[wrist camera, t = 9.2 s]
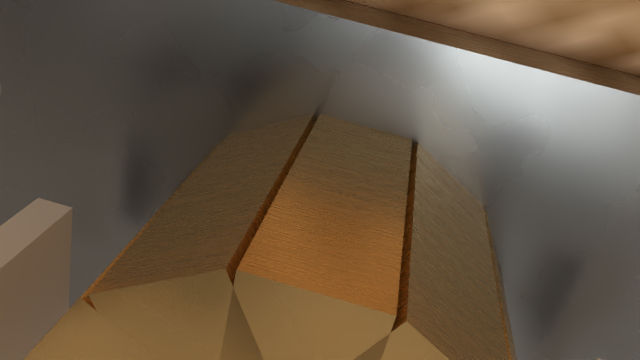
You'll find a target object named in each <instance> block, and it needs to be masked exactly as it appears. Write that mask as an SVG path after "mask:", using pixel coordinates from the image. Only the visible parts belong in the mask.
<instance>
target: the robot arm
mask: <svg viewBox="0 0 640 360" xmlns="http://www.w3.org/2000/svg"><path fill="white" fill-rule="evenodd" d="M72 209H73V208H72V207H69V206H65V205H62V204H58V203H55V202H51V201H48V200H44V199H41V198H37V199H36V200H35V201H33V202H32V203H31V204H29V205H28V206H27V207H25V208H24V209H23V210H21V211H20V212H18V213H17V214H16V215H14V216H13V217H12V218H10V219H9V220H8V221H6V222H5V223H4V224H2V225H1V226H0V360H23V359H24V358H25V357H26V356H27V355H28V354H29V353H30V352H31V350H32V349H33V348H34V347H35V346H36V345H37V344H38V343H39V341H40V340H41V339H42V338H43V337H44V336H45V335H46V334H47V333H48V331H49V330H50V329H51V328H52V327H53V326H54V325H55V324H56V323H57V321H58V320H59V319H60V318H61V317H62V316H63V315H64V314H65V313H66V311H67V310H68V309H69V289H70V262H71V235H72ZM596 360H603V359H599V358H597V359H596Z"/></svg>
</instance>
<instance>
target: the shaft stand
mask: <svg viewBox="0 0 640 360" xmlns="http://www.w3.org/2000/svg"><path fill="white" fill-rule="evenodd" d="M312 114H314V117H315V120H316V121H317V119H318V117H319V115H320V114H321V115H325V116H329V117H332V118H336V119H340V120H343V121H347V122H351V123H354V124H358V125H362V126H366V127H369V128H373V129H377V130H380V131H384V132H388V133H392V134H395V135H399V136H403V137H406V138H410V139H412V147H413V146H414V145H415V144H417V143H419V144H420V145H421V146H422V147H423V148H424V149H425V150H426V151H427V152H428V153H429V154H431V155H432V156H433V157H434V158H435V159H436V160H437V161H438V162H439V163H440V164H441V165H442V166H443V167H444V168H445V169H446V170H447V171H448V172H449V173H450V174H451V175H452V176H453V177H454V178H455V179H456V180H457V181H458V182H459V183H460V184H462V185H463V186H464V187H465V188H466V189H467V190H468V191H469V192H470V193H471V194H472V195H473V196H474V197H475V198H476V199H477V200H478V201H479V202H480V203H481V204H482V205H483V208H484V211H486V213H487V217H488V221H489V226H490V230H491V235H492V239H493V243H494V248H495V252H496V256H497V261H498V265H499V270H500V274H501V278H502V283H503V287H504V293H505V298H506V304H507V309H508V314H509V320H510V325H511V331H512V336H513V342H514V347H515V353H516V358H517V360H596V359H597V358H599V359H603V360H640V77H639V76H635V75H631V74H628V73H624V72H620V71H616V70H612V69H608V68H604V67H600V66H597V65H593V64H589V63H585V62H581V61H577V60H573V59H569V58H565V57H562V56H558V55H554V54H550V53H546V52H542V51H538V50H534V49H531V48H527V47H523V46H519V45H515V44H511V43H507V42H503V41H499V40H496V39H492V38H488V37H484V36H480V35H476V34H472V33H468V32H464V31H461V30H457V29H453V28H449V27H445V26H441V25H437V24H433V23H430V22H426V21H422V20H418V19H414V18H410V17H406V16H402V15H398V14H395V13H391V12H387V11H383V10H379V9H375V8H371V7H367V6H364V5H360V4H356V3H352V2H348V1H344V0H0V226H1V225H2V224H4V223H5V222H6V221H8V220H9V219H10V218H12V217H13V216H14V215H16V214H17V213H18V212H20V211H21V210H23V209H24V208H25V207H27V206H28V205H29V204H31V203H32V202H33V201H35V200H36V199H37V198H41V199H44V200H48V201H51V202H55V203H58V204H62V205H65V206H69V207H72V208H73V209H72V235H71V262H70V289H69V308H70V307H71V306H72V305H73V304H74V303H75V301H76V300H77V299H78V298H79V297H80V296H81V295H82V294H83V293H84V291H85V290H86V289H87V288H88V287H89V286H90V285H91V284H92V283H93V281H94V280H95V279H96V278H97V277H98V276H99V275H100V274H101V272H102V271H103V270H104V269H105V268H106V267H107V266H108V265H109V264H110V262H111V261H112V260H113V259H114V258H115V257H116V256H117V255H118V254H119V252H120V251H121V250H122V249H123V248H124V247H125V246H126V245H127V244H128V242H129V241H130V240H131V239H132V238H133V237H134V236H135V235H136V234H137V232H138V231H139V230H140V229H141V228H142V227H143V226H144V225H145V224H146V222H147V221H148V220H149V219H150V218H151V217H152V216H153V215H154V214H155V212H156V211H157V210H158V209H159V208H160V207H161V206H162V205H163V204H164V202H165V201H166V200H167V199H168V198H169V197H170V196H171V195H172V194H173V192H174V191H175V190H176V189H177V188H178V187H179V186H180V185H181V184H182V183H183V182H184V180H185V179H186V178H187V177H188V176H189V175H190V174H191V173H192V172H193V171H194V170H195V169H196V167H197V166H198V165H199V164H200V163H201V162H202V161H203V160H204V159H205V158H206V157H207V156H208V154H209V153H210V152H211V151H212V150H213V149H214V148H215V147H216V146H217V145H218V144H219V143H220V141H221V140H222V139H223V138H224V139H226V138H227V136H228V135H232V134H236V133H240V132H244V131H248V130H252V129H256V128H260V127H264V126H268V125H272V124H276V123H280V122H284V121H288V120H292V119H296V118H300V117H304V116H308V115H312ZM412 147H411V148H412Z"/></svg>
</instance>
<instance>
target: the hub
mask: <svg viewBox="0 0 640 360" xmlns="http://www.w3.org/2000/svg"><path fill="white" fill-rule="evenodd" d="M411 147H412V139H410V138H406V137H403V136H399V135H395V134H392V133H388V132H384V131H380V130H377V129H373V128H369V127H366V126H362V125H358V124H354V123H351V122H347V121H343V120H340V119H336V118H332V117H329V116H325V115H321V114H320V115H319V117H318V119H317V121H316V120H315V117H314V114H312V115H308V116H304V117H300V118H296V119H292V120H288V121H284V122H280V123H276V124H272V125H268V126H264V127H260V128H256V129H252V130H248V131H244V132H240V133H236V134H232V135H228V136H227V138H226V139H224V138H223V139H222V140H221V141H220V143H219V144H218V145H217V146H216V147H215V148H214V149H213V150H212V151H211V152H210V153H209V154H208V156H207V157H206V158H205V159H204V160H203V161H202V162H201V163H200V164H199V165H198V166H197V167H196V169H195V170H194V171H193V172H192V173H191V174H190V175H189V176H188V177H187V178H186V179H185V180H184V182H183V183H182V184H181V185H180V186H179V187H178V188H177V189H176V190H175V191H174V192H173V194H172V195H171V196H170V197H169V198H168V199H167V200H166V201H165V202H164V204H163V205H162V206H161V207H160V208H159V209H158V210H157V211H156V212H155V214H154V215H153V216H152V217H151V218H150V219H149V220H148V221H147V222H146V224H145V225H144V226H143V227H142V228H141V229H140V230H139V231H138V232H137V234H136V235H135V236H134V237H133V238H132V239H131V240H130V241H129V242H128V244H127V245H126V246H125V247H124V248H123V249H122V250H121V251H120V252H119V254H118V255H117V256H116V257H115V258H114V259H113V260H112V261H111V262H110V264H109V265H108V266H107V267H106V268H105V269H104V270H103V271H102V272H101V274H100V275H99V276H98V277H97V278H96V279H95V280H94V281H93V283H92V284H91V285H90V286H89V287H88V288H87V289H86V290H85V291H84V293H83V294H82V295H81V296H80V297H79V298H78V299H77V300H76V301H75V303H74V304H73V305H72V306H71V307H70V308H69V309H68V310H67V311H66V313H65V314H64V315H63V316H62V317H61V318H60V319H59V320H58V321H57V323H56V324H55V325H54V326H53V327H52V328H51V329H50V330H49V331H48V333H47V334H46V335H45V336H44V337H43V338H42V339H41V340H40V341H39V343H38V344H37V345H36V346H35V347H34V348H33V349H32V350H31V352H30V353H29V354H28V355H27V356H26V357H25V358H24V359H23V360H517V358H516V353H515V347H514V342H513V336H512V331H511V325H510V320H509V314H508V309H507V304H506V298H505V293H504V287H503V283H502V278H501V274H500V270H499V265H498V261H497V256H496V252H495V248H494V243H493V239H492V235H491V230H490V226H489V221H488V217H487V213H486V211H484V208H483V205H482V204H481V203H480V202H479V201H478V200H477V199H476V198H475V197H474V196H473V195H472V194H471V193H470V192H469V191H468V190H467V189H466V188H465V187H464V186H463V185H462V184H460V183H459V182H458V181H457V180H456V179H455V178H454V177H453V176H452V175H451V174H450V173H449V172H448V171H447V170H446V169H445V168H444V167H443V166H442V165H441V164H440V163H439V162H438V161H437V160H436V159H435V158H434V157H433V156H432V155H431V154H429V153H428V152H427V151H426V150H425V149H424V148H423V147H422V146H421V145H420V144H419V143H417V144H415V145H414V146H413V147H412V148H411Z"/></svg>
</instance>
